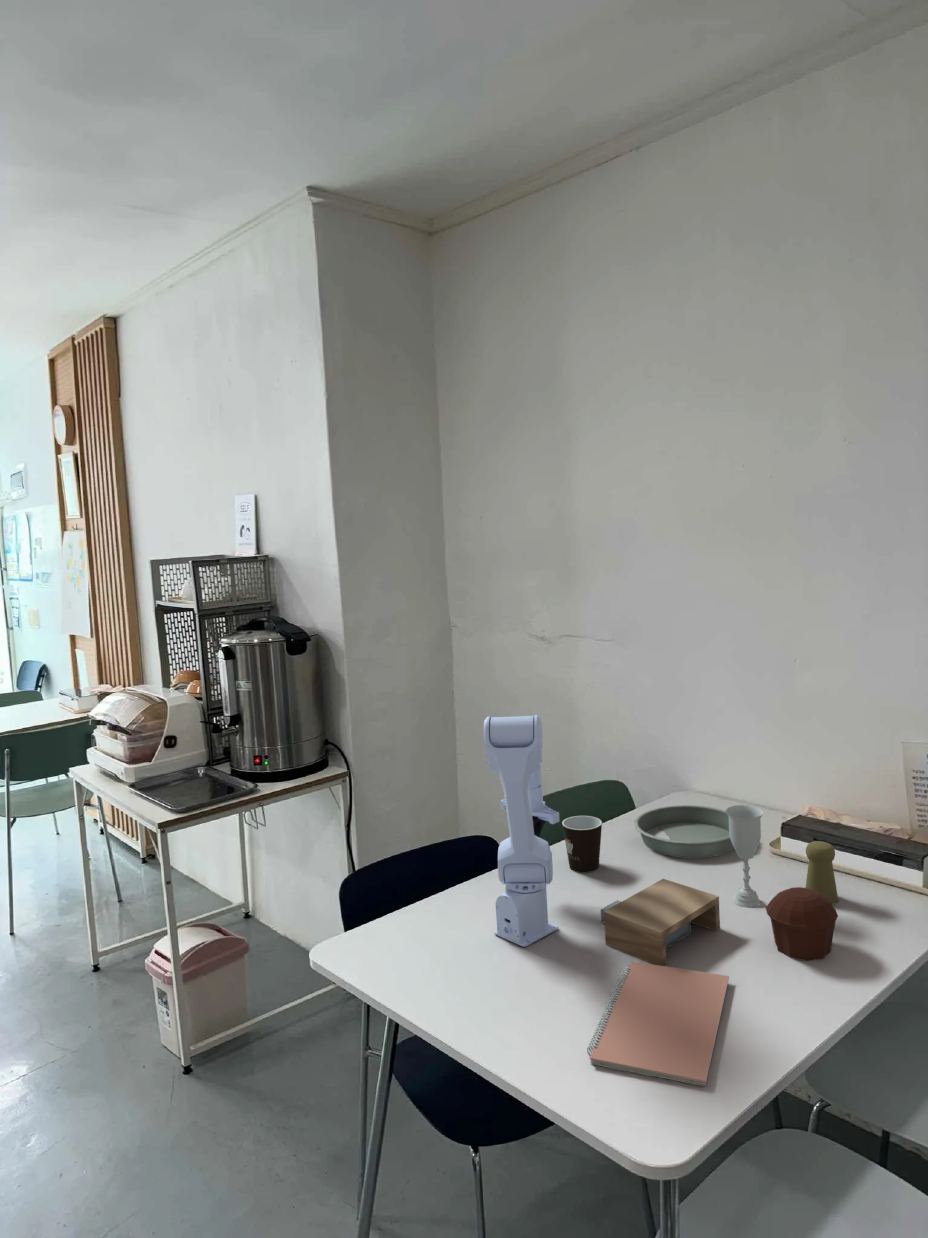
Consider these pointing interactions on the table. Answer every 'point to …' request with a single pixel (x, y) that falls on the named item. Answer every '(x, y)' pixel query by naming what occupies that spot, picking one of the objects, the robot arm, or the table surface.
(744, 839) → the chalice
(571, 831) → the coffee mug
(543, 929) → the robot arm
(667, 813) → the cake pan
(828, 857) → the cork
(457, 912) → the table surface
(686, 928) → the tray
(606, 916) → the shelf
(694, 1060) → the notebook
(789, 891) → the muffin
